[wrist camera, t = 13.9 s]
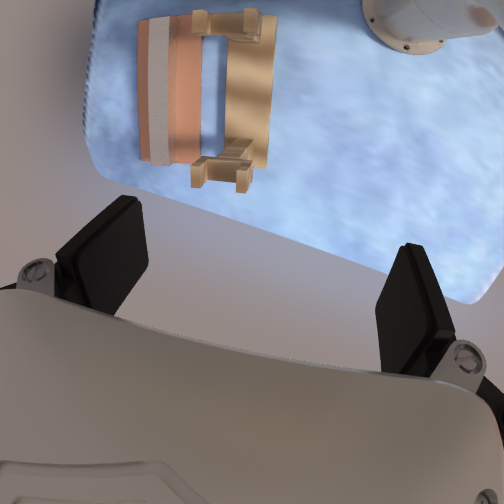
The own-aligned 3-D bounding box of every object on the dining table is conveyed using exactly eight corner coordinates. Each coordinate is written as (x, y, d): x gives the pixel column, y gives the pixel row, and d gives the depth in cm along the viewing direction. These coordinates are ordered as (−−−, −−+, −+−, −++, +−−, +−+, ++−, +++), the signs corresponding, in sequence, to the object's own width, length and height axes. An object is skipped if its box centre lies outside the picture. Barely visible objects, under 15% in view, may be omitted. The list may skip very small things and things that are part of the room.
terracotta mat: (140, 21, 33) (138, 21, 33) (203, 13, 32) (202, 13, 31) (143, 159, 46) (141, 160, 46) (200, 163, 45) (199, 164, 44)
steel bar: (159, 20, 32) (149, 18, 30) (178, 18, 32) (169, 16, 30) (159, 158, 45) (151, 164, 42) (177, 159, 45) (169, 166, 42)
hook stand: (232, 15, 32) (192, -6, 20) (277, 16, 31) (258, -9, 19) (226, 162, 44) (190, 202, 32) (266, 166, 43) (245, 209, 32)
